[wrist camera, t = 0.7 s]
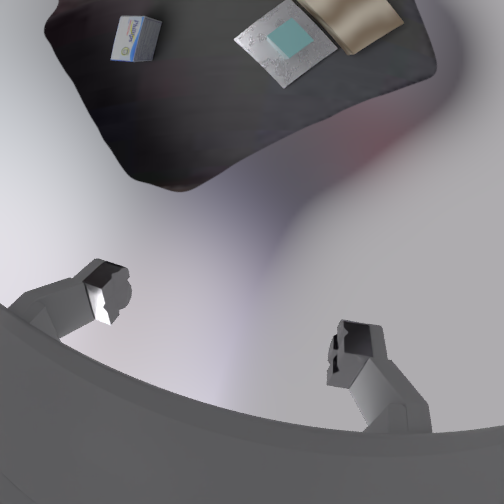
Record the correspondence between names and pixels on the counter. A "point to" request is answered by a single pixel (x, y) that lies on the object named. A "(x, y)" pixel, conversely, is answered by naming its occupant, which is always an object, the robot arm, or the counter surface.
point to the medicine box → (135, 39)
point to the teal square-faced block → (289, 38)
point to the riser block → (354, 20)
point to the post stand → (270, 57)
